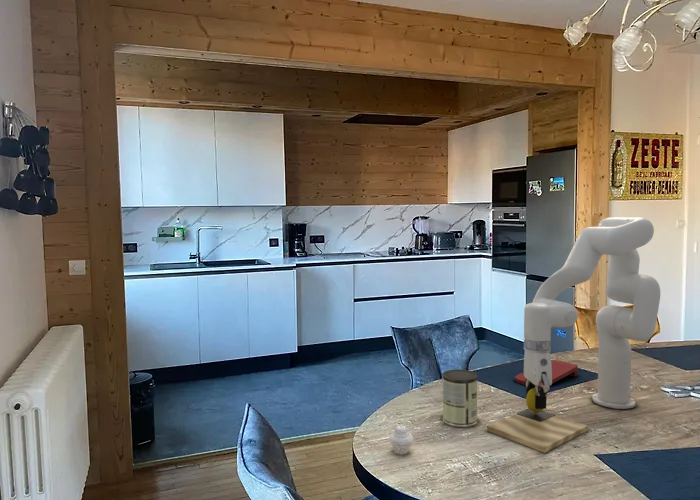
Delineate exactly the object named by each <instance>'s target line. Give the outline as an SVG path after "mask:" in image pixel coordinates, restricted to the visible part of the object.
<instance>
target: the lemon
mask: <svg viewBox="0 0 700 500" xmlns="http://www.w3.org/2000/svg"><path fill="white" fill-rule="evenodd" d="M540 389H541V388H539V391H540ZM535 395H537V394H536V387H535V388H533V389H531V390H529V391H528V393H527V397H526V396H525V403H526V406H527V409H528V408H529V409H530V410H531V411H533V412H534V413H535V414H537V413H538V412H540V411H544V409H536V408H535Z"/></svg>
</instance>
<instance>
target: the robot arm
mask: <svg viewBox="0 0 700 500" xmlns="http://www.w3.org/2000/svg"><path fill="white" fill-rule="evenodd" d="M654 233H655V228H654V225H653V223H652V222H651V221H650V220H649V219H647V218H646V217H634V216H633V217H631V216H611V217H605V218H603V219H601V220H600V221H599V222H598V224H597V226H588V227H585V228H583V229H582V230H581V231H580V232H579V234H578V236H577V238H576V240H575V241H574V244H573V245H572V248H571V250H570V252H569V254H568V256H567V258H566V260H565V262H564V264H563V265H562V267H561V268H559V269H558V270H556V271H555V272H553V274H551V275H550V276H549V277H547V279H545V280H544V281H543V283H541V285H540V286H539V288H538V289H537V291H536V293H535V296H534V297H533V300H532V302H529V303H526V304H525V305H524V309H523V350H524V356H523V372H524V376H525V380H526V385H525V387H526V388H525V398H526V397H527V393H528V391H529V390H531V389H533V388H535V387H536V394H537V395H535V408H536V409H543V410H545V409H547V397H548V393H549V391H550V386H552V384H553V383H552V365H551V360H552V357H551V345H552V344H551V343H552V341H551V339H552V336H551V335H552V328H561V329H562V328H563V329H566V328H570V327H572V326H573V325H575V323H576V322H577V321H578V319H579V312H578V309H577V308H576V307H575V306H574V305H572V303H569V302H564V301H560V300H556V299H557V297H558V296H559V295H560V294H561V293H562V292H564V291H565V290H567V289H568V288H571V287H574V286H577V285H581V284H583V283H586V282H587V281H589V280H591V278H593V277H592V276H593V274H594V273H595V271H596V268H597V266H598V264H599V262H600V260H601V258H602V256H603V255H605V256H609V265H608V272H607V279H606V286H605V294H606V296H607V297H608V299H610V300H611V301H614V302H619V303H623V304H629V305H633V307H626V306H620V305H614V304H613V305H612V304H611V305H604V306H602V307H601V308H600V309H598V311H597V313H596V314H595V316H596V317H595V324H596V325H595V326H596V331H597V338H598V354H597V355H598V356H597V358H598V359H597V361H598V363H597V393H594V394H592V396H591V400H592V401H593V403H595V404H597V405H598V406H602V407H605V408H609V409H615V410H617V409H618V410H628V409H632V408H635V407H636V403H637V402H636V400H635V399H634V398H632V397H631V393H632V392H634V391H635V390H634V387H633V386H632V383H631V382H632V381H631V380H632V346H631V344H630V341H629V340H631V341H636V342H646V341H647V342H648V341H649V340H650V339H651V338H652V337H653V335H654V333H655V330H656V326H657V321H658V314H659V307H660V302H661V287H660V284H659V282H658V280H656V278H655V277H653V276H650V275H647V274H639V273H640V262H641V261H640V260H641V259H640V254H639V252H638V250H637V249H638V248H642V247H644V246H646V245H647V244H648V243H650V242H651V240H652V239H653V238H654ZM539 383H543V385H539ZM539 387H543V388H542V389H541V388H539ZM539 389H540V391H539Z"/></svg>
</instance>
